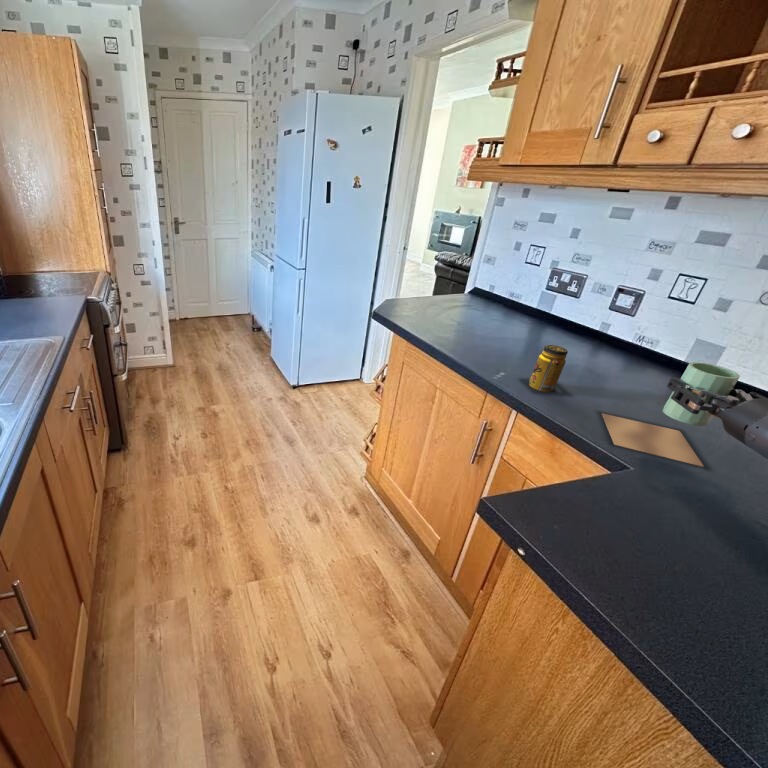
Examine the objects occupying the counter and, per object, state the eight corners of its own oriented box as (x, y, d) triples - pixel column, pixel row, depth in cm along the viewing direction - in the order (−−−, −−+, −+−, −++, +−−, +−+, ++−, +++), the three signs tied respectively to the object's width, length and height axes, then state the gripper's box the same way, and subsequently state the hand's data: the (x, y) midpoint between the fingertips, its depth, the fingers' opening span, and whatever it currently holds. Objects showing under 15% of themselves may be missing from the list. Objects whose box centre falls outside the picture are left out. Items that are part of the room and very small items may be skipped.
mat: (678, 432, 96) (679, 430, 96) (703, 468, 84) (704, 467, 84) (600, 414, 102) (601, 413, 102) (613, 446, 90) (614, 444, 90)
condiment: (521, 381, 117) (536, 342, 111) (552, 383, 116) (569, 344, 111) (534, 394, 110) (550, 353, 105) (567, 396, 110) (585, 355, 104)
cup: (700, 413, 80) (730, 367, 76) (714, 429, 75) (747, 381, 71) (657, 404, 83) (683, 359, 78) (668, 419, 78) (696, 372, 73)
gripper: (846, 417, 61) (745, 369, 76) (739, 407, 63) (660, 362, 77) (813, 457, 65) (722, 404, 79) (712, 447, 66) (641, 396, 81)
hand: (692, 383), depth 78 cm, fingers closed on cup, 6 cm apart
